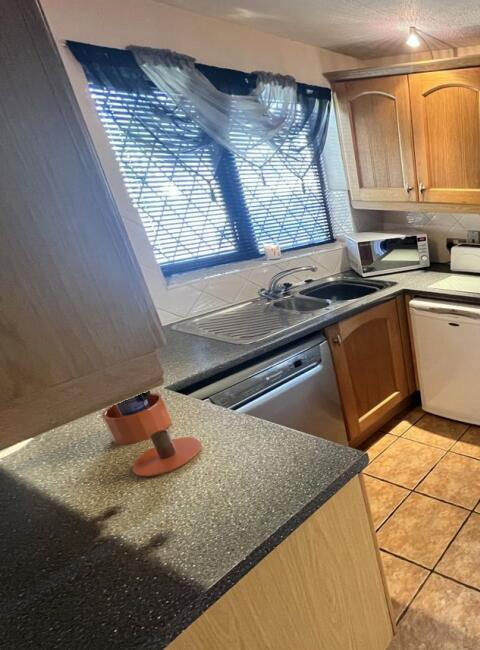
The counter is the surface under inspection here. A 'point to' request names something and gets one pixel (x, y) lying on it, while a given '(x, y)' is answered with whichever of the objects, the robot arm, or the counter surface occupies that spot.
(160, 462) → the lid
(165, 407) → the pot
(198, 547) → the counter surface
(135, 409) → the pill bottle
